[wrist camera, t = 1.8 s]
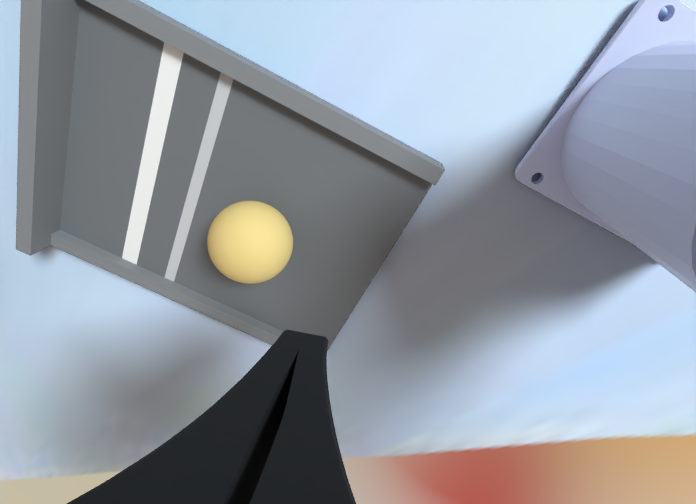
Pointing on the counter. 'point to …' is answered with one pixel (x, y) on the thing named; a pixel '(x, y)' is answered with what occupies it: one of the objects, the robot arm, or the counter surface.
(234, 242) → the ball
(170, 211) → the lane
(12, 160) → the counter surface
